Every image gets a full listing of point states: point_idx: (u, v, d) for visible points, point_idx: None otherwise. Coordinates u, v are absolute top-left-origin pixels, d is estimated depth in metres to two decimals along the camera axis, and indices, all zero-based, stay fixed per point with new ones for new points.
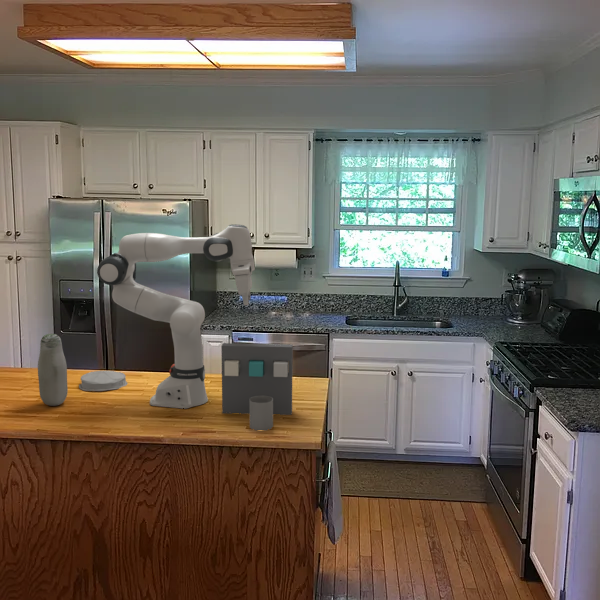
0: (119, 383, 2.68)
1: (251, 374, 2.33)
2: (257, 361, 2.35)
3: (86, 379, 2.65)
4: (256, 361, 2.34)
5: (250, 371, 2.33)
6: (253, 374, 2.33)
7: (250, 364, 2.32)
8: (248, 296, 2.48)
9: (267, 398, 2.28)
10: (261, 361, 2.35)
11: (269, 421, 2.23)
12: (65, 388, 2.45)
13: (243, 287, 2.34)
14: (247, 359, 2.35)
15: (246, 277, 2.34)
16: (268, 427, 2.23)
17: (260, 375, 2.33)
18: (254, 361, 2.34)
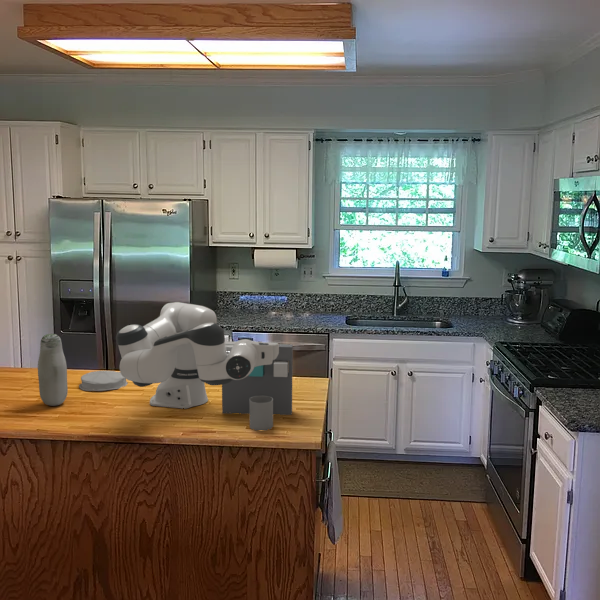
0: (119, 383, 2.69)
1: (251, 374, 2.33)
2: None
3: (86, 379, 2.65)
4: None
5: None
6: (253, 374, 2.33)
7: None
8: None
9: (267, 398, 2.28)
10: None
11: (269, 421, 2.23)
12: (65, 388, 2.45)
13: (278, 348, 2.06)
14: None
15: (274, 346, 2.02)
16: (268, 427, 2.23)
17: (260, 375, 2.33)
18: None
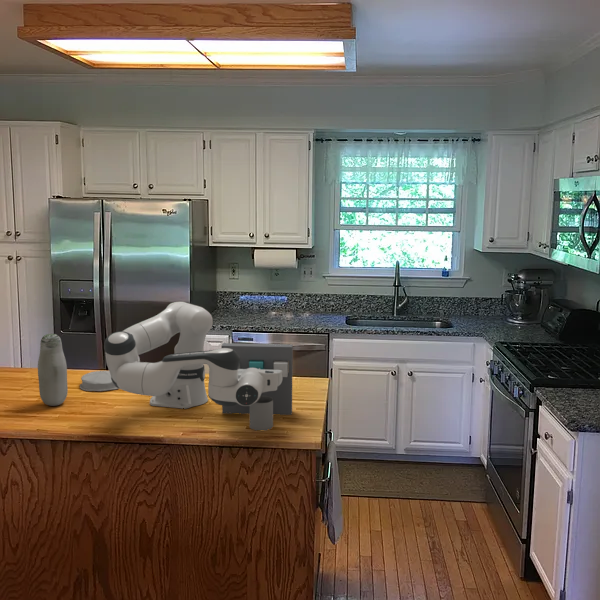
0: None
1: None
2: (257, 361, 2.35)
3: (87, 379, 2.65)
4: (256, 361, 2.34)
5: None
6: None
7: (250, 364, 2.33)
8: None
9: (267, 398, 2.28)
10: (261, 361, 2.35)
11: (269, 421, 2.23)
12: (65, 388, 2.45)
13: (282, 375, 2.25)
14: (247, 359, 2.35)
15: (279, 374, 2.22)
16: (268, 427, 2.23)
17: None
18: (254, 361, 2.35)
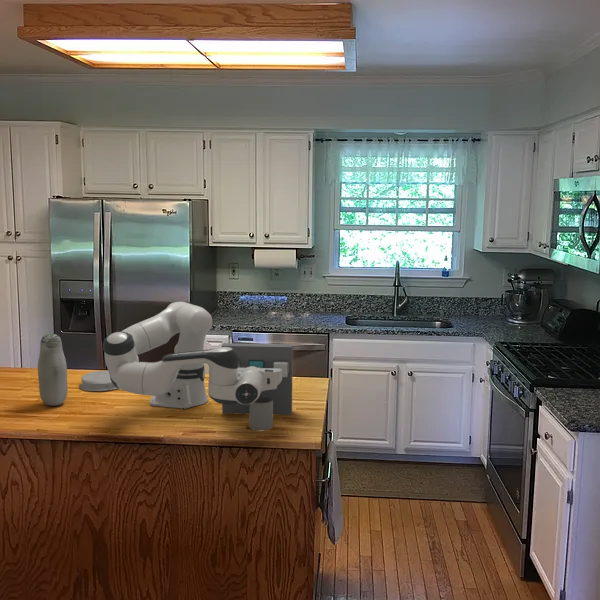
0: None
1: None
2: None
3: (87, 379, 2.65)
4: (257, 360, 2.36)
5: None
6: None
7: (251, 363, 2.34)
8: None
9: (267, 398, 2.28)
10: (262, 360, 2.36)
11: (269, 421, 2.23)
12: (65, 388, 2.45)
13: (281, 374, 2.26)
14: (247, 359, 2.35)
15: (278, 373, 2.23)
16: (268, 427, 2.23)
17: None
18: (255, 360, 2.36)
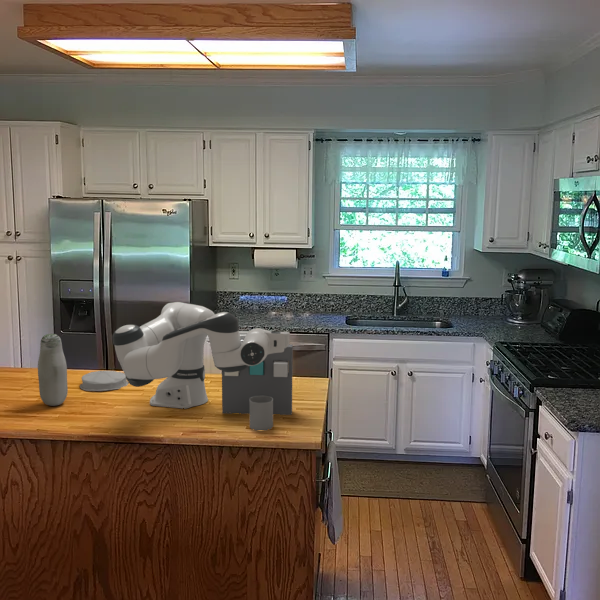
0: (120, 383, 2.69)
1: (252, 373, 2.35)
2: None
3: (87, 379, 2.65)
4: None
5: (251, 370, 2.35)
6: (254, 373, 2.35)
7: None
8: None
9: (267, 398, 2.28)
10: None
11: (269, 421, 2.23)
12: (65, 388, 2.45)
13: (289, 337, 2.14)
14: None
15: (286, 335, 2.10)
16: (268, 427, 2.23)
17: (261, 374, 2.35)
18: None
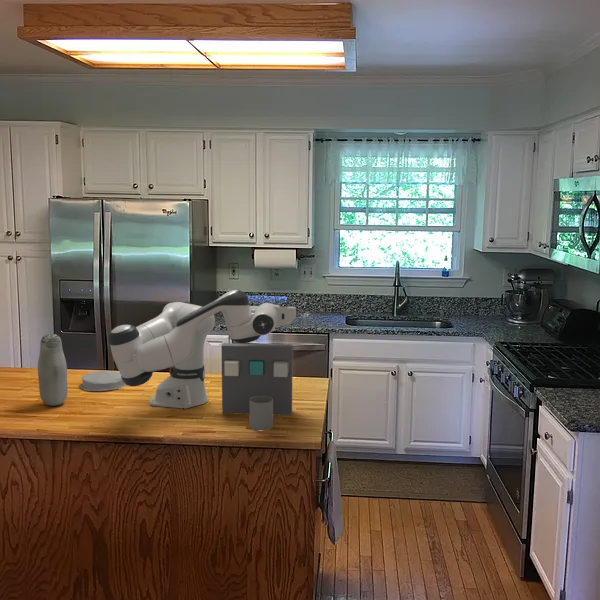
0: (120, 383, 2.69)
1: (252, 373, 2.35)
2: None
3: (87, 379, 2.65)
4: (257, 360, 2.36)
5: (251, 370, 2.35)
6: (254, 373, 2.35)
7: (251, 363, 2.34)
8: None
9: (267, 398, 2.28)
10: (262, 360, 2.36)
11: (269, 421, 2.23)
12: (65, 388, 2.45)
13: (295, 311, 2.36)
14: (247, 359, 2.35)
15: (292, 309, 2.32)
16: (268, 427, 2.23)
17: (261, 374, 2.35)
18: (255, 360, 2.36)
